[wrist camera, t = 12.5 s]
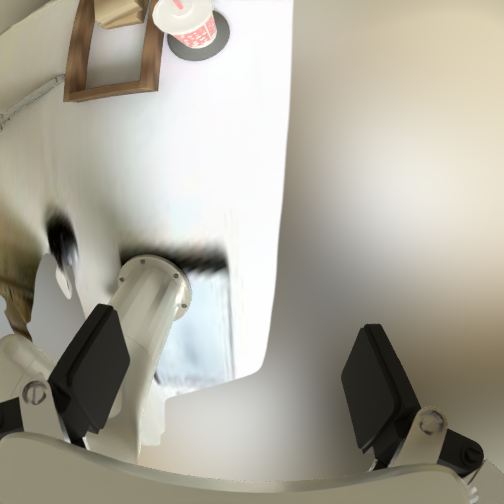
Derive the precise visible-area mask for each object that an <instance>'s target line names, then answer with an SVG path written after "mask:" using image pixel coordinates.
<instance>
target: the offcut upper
mask: <svg viewBox="0 0 504 504" xmlns="http://www.w3.org/2000/svg"><path fill="white" fill-rule="evenodd" d="M94 8H95V21H97V22H99V23H101V24H103V25H105V26H107V25H109V24H111V23H113V22H115V21H117V20H119V19H122V18H124V17H126V16H128V15H131V14H133V13H136V12H138V11H140V10H143V5H142V0H94Z"/></svg>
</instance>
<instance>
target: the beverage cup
mask: <svg viewBox="0 0 504 504" xmlns="http://www.w3.org/2000/svg"><path fill="white" fill-rule="evenodd" d="M212 11H213V3H212V0H159V1H158V2H157V4H156V5H155V7H154V10H153V14H152V16H153V21H154V24H155V25H156V26H157V27H158V28H159V29H160V30H161V31H163V32H166V33H168V34H171V35H172V36H174V37H175V38H177V39H178V40H179V41H181V42H182V43H183V44H185V45H186V46H188V47H191V48H202V47H206V46H207V45H209V44H210V43H212V42H213V40H214V39H215V38H216V34H217V29H216V25H215V21H214V17H213V13H212Z"/></svg>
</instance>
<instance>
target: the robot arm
mask: <svg viewBox="0 0 504 504" xmlns="http://www.w3.org/2000/svg"><path fill="white" fill-rule="evenodd" d="M117 283H118V290H117V291H116V293H115V294H114V295H113V297H112V298H111V300H110V301H109V302H108V304H107V305H105V304H98V305H97V306H96V307H95V308H94V310H93V311H92V312H91V314H90V315H89V317H88V318H87V319H86V321H85V323H84V324H83V325H82V327H81V328H80V330H79V331H78V332H77V334H76V335H75V337H74V338H73V340H72V341H71V343H70V344H69V346H68V347H67V349H66V350H65V352H64V353H63V355H62V356H61V358H60V360H59V361H58V363H56V362H54V361H53V360H52V359H51V358H50V357H49V356H47V355H46V354H45V353H44V352H43V351H41V350H40V349H39V348H38V347H37V346H35V345H34V344H33V343H32V342H30V341H29V340H28V339H26V338H25V337H23V336H20V335H17V334H10V335H7V336H4V337H3V338H1V339H0V504H504V474H503V473H502V472H501V471H500V470H499V469H498V468H497V467H496V466H495V465H494V464H492V463H491V462H490V461H489V460H488V459H486V460H484V459H483V458H484V454H483V450H482V448H481V446H480V445H479V444H478V443H477V442H475V441H473V440H471V439H469V438H467V437H465V436H462V435H460V434H458V433H456V432H454V431H452V430H450V429H448V428H447V427H448V422H447V418H446V416H445V415H444V414H443V412H442V411H440V410H439V409H437V408H434V407H425V408H422V409H421V407H420V404H419V402H418V400H417V397H416V395H415V393H414V390H413V388H412V386H411V384H410V382H409V380H408V377H407V375H406V373H405V371H404V369H403V367H402V365H401V362H400V361H399V359H398V357H397V355H396V353H395V351H394V349H393V347H392V345H391V343H390V341H389V339H388V337H387V335H386V333H385V332H384V330H383V328H382V326H381V325H380V324H366V325H365V326H364V328H361V329H360V331H359V333H358V336H357V339H356V341H355V343H354V346H353V348H352V351H351V353H350V355H349V358H348V360H347V362H346V365H345V367H344V369H343V372H342V375H341V380H342V384H343V388H344V391H345V395H346V399H347V403H348V407H349V411H350V415H351V419H352V423H353V427H354V432H355V436H356V440H357V444H358V447H359V448H360V449H362V451H363V454H370V453H374V454H375V458H376V460H375V461H374V463H373V465H372V466H371V468H370V470H369V471H368V472H365V473H359V474H353V475H346V476H339V477H332V478H324V479H314V480H301V481H275V482H258V481H257V482H256V481H234V480H220V479H211V478H202V477H195V476H188V475H181V474H176V473H170V472H165V471H160V470H155V469H151V468H147V467H143V466H139V465H137V462H138V458H139V454H140V447H141V432H142V420H143V413H144V408H145V403H146V399H147V395H148V392H149V389H150V385H151V382H152V379H153V376H154V374H155V371H156V368H157V365H158V362H159V359H160V357H161V354H162V351H163V348H164V345H165V342H166V340H167V337H168V334H169V331H170V329H171V326H172V323H173V322H174V321H176V320H178V319H180V318H181V317H182V316H184V314H185V313H186V312H187V310H188V308H189V306H190V303H191V297H192V293H191V287H190V284H189V281H188V279H187V278H186V276H185V274H184V273H183V272H182V271H181V270H180V269H179V268H178V267H177V266H176V265H175V264H174V263H172V262H170V261H169V260H167V259H165V258H162V257H160V256H156V255H148V254H144V255H138V256H135V257H133V258H131V259H130V260H128V261H127V262H126V263H125V264H124V265H123V267H122V268H121V270H120V272H119V275H118V280H117Z"/></svg>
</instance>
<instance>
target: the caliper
mask: <svg viewBox="0 0 504 504" xmlns="http://www.w3.org/2000/svg"><path fill="white" fill-rule="evenodd" d="M64 80H65V74H64V75H61V76H59V77H58V78H54V79H52V80H50V81H49V82H47V83H46V84H44V85H42V86H41V87H39V88H38V89H36V90H35V91H33V92H32V93H30V94H29V95H28V96H26V97H25V98H23V99H22V100H21V101H19V102H18V103H17V104H15V105H14V106H13V107H11V108H10V109H9V110H7V111H6V112H5V113H4V114H1V115H0V131H2V127H1V126H2V125H3V124H5V123H6V122H7V121H9V120H10V119H9V118H10V117H11V116H13V115H14V114H15V113H17V112H18V111H19V110H21V109H22V108H23V107H25V106H26V105H28V104H29V103H31V102H32V101H33V100H35V99H36V98H38V97H40V96H41V95H43V94H44V93H46V92H47V91H49V90H51V89H52V88H54V87H55V86H57V85H58V84H59V83H60V82H62V81H64Z"/></svg>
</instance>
